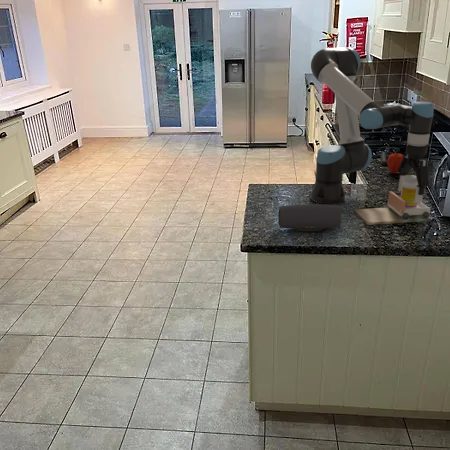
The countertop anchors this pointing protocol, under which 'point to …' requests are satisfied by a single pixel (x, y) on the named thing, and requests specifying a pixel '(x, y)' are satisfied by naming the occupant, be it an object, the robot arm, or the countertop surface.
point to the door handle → (384, 159)
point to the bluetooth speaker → (309, 217)
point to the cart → (399, 207)
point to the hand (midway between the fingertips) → (409, 196)
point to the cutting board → (386, 216)
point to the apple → (394, 162)
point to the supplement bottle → (409, 191)
